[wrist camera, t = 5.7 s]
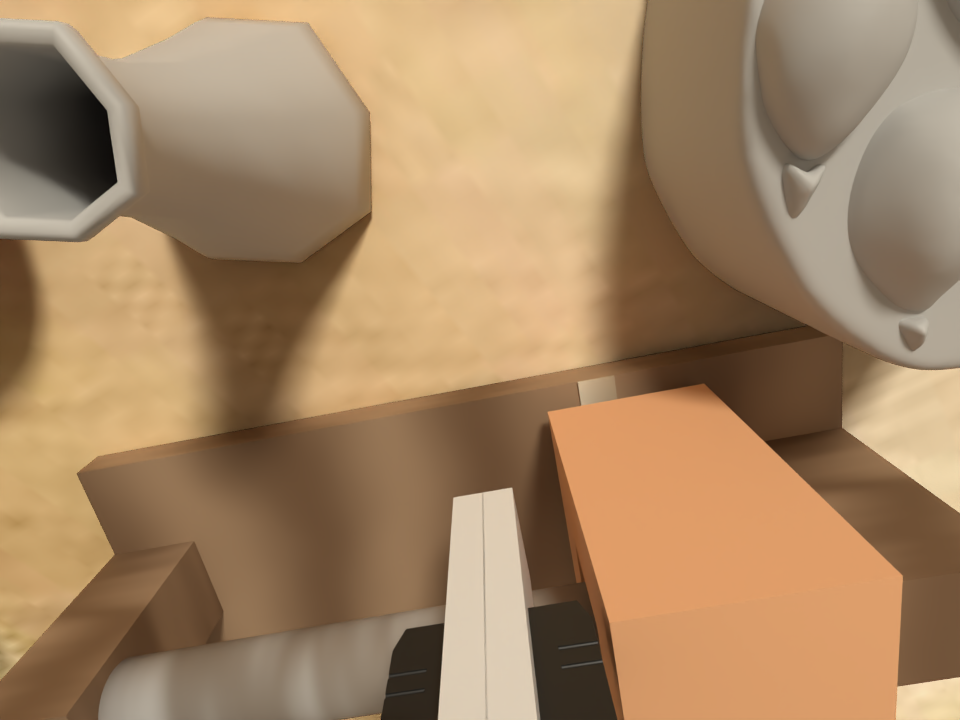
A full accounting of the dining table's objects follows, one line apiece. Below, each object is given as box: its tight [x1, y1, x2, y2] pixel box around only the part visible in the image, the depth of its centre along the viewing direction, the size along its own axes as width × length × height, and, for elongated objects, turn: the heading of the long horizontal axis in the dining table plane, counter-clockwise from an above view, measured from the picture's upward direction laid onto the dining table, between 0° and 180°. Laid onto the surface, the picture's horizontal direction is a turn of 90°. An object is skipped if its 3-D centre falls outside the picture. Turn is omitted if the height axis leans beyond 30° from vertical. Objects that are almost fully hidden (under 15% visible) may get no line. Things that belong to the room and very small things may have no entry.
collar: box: [548, 384, 903, 720], centre depth 16 cm, size 5×9×9 cm, turn 11°
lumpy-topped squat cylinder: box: [641, 0, 960, 370], centre depth 14 cm, size 10×13×9 cm
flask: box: [0, 17, 371, 263], centre depth 13 cm, size 7×7×10 cm
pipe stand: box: [0, 326, 960, 720], centre depth 18 cm, size 26×10×8 cm, turn 101°
